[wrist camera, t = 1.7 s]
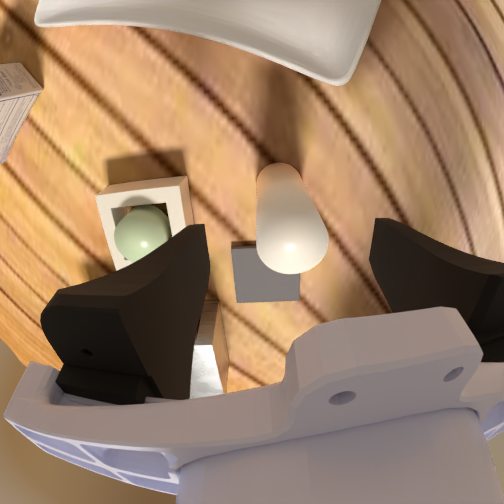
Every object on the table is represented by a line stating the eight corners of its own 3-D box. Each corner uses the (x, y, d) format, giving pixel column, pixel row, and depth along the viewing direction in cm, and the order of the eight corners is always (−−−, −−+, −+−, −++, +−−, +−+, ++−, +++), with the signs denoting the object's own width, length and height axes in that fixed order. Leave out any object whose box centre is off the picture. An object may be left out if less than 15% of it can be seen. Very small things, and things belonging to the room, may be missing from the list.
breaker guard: (218, 300, 24) (212, 345, 19) (229, 359, 28) (225, 401, 24) (95, 299, 24) (73, 336, 20) (122, 354, 28) (108, 390, 24)
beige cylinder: (301, 162, 18) (331, 209, 11) (301, 204, 19) (325, 272, 13) (255, 163, 18) (254, 211, 11) (257, 206, 20) (257, 275, 13)
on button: (166, 202, 18) (157, 214, 16) (175, 247, 20) (167, 263, 18) (120, 206, 18) (108, 219, 16) (131, 249, 20) (121, 264, 18)
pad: (300, 243, 21) (301, 246, 21) (298, 297, 24) (298, 300, 23) (231, 246, 21) (231, 249, 21) (237, 299, 24) (236, 302, 23)
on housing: (187, 175, 18) (179, 185, 17) (198, 253, 22) (193, 270, 20) (109, 185, 19) (94, 195, 17) (127, 256, 22) (116, 272, 20)
